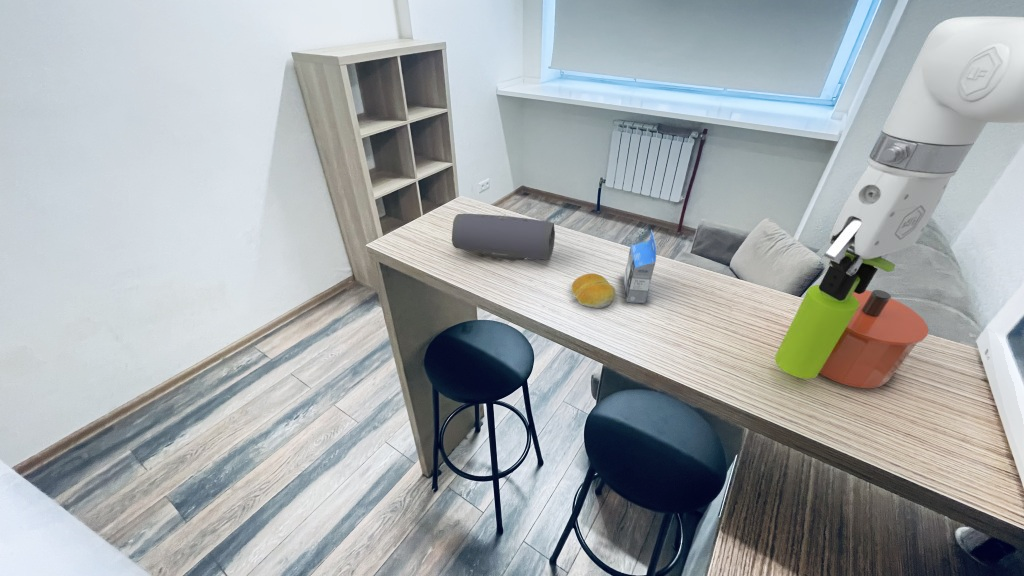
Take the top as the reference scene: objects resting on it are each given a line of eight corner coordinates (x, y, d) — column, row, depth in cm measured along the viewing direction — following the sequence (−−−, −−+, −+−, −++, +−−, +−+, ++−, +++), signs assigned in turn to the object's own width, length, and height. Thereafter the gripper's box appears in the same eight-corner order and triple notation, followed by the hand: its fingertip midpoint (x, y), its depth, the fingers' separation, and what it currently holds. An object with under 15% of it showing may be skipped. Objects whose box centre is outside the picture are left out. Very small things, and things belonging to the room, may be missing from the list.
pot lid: (945, 333, 60) (965, 308, 57) (885, 359, 56) (903, 334, 53) (851, 284, 70) (864, 262, 67) (795, 304, 66) (806, 280, 63)
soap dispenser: (821, 388, 59) (893, 273, 48) (769, 365, 63) (824, 253, 52) (830, 367, 63) (899, 255, 51) (781, 346, 67) (835, 237, 55)
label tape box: (623, 278, 89) (631, 227, 82) (642, 279, 88) (652, 228, 81) (626, 302, 82) (636, 249, 75) (647, 304, 81) (658, 250, 74)
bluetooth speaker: (554, 251, 99) (556, 213, 93) (547, 271, 92) (549, 231, 86) (466, 241, 104) (462, 205, 98) (453, 260, 96) (448, 221, 91)
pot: (907, 374, 65) (942, 328, 60) (854, 398, 61) (886, 352, 56) (830, 326, 75) (854, 284, 69) (780, 345, 71) (801, 302, 65)
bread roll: (583, 313, 79) (585, 296, 77) (566, 287, 86) (568, 271, 84) (622, 305, 81) (625, 289, 79) (602, 281, 88) (604, 265, 86)
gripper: (907, 175, 39) (824, 323, 49) (1003, 153, 44) (909, 292, 54) (830, 153, 44) (771, 290, 55) (923, 136, 49) (852, 265, 60)
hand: (840, 290), depth 54 cm, fingers closed on soap dispenser, 3 cm apart
